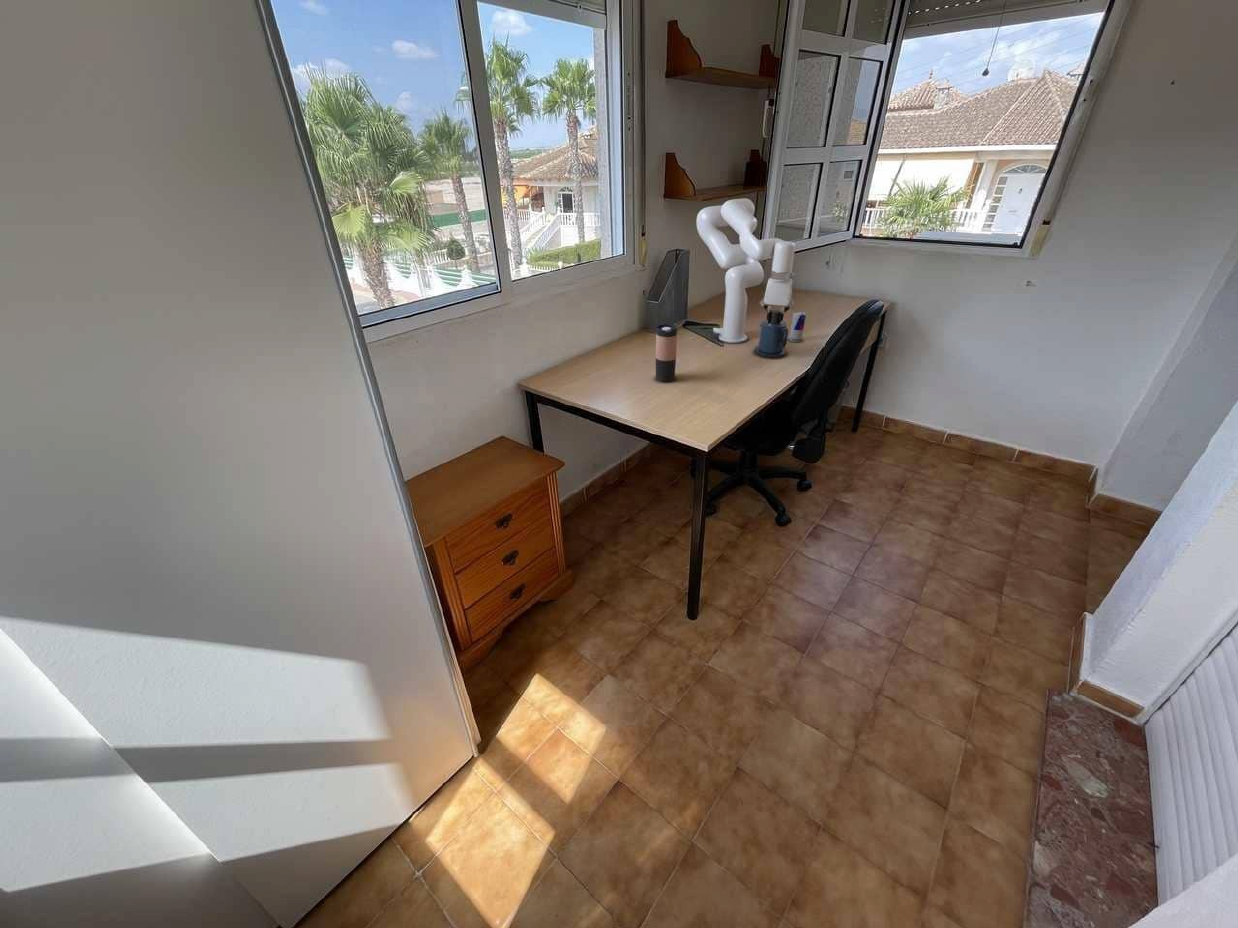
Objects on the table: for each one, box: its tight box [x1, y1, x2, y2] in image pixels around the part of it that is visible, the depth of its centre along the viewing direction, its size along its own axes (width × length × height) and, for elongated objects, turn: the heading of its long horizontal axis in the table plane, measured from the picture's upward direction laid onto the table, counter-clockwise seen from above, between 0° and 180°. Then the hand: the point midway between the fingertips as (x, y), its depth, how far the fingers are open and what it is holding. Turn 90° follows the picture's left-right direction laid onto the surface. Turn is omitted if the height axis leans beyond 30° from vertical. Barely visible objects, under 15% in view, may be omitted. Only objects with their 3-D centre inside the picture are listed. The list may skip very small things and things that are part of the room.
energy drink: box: [788, 311, 807, 343], centre depth 231 cm, size 5×5×12 cm
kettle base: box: [753, 345, 787, 360], centre depth 221 cm, size 13×13×2 cm
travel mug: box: [655, 323, 678, 383], centre depth 194 cm, size 8×8×20 cm
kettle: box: [758, 309, 789, 353], centre depth 216 cm, size 16×10×16 cm, turn 29°
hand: (774, 321), depth 214 cm, fingers closed on kettle, 3 cm apart
